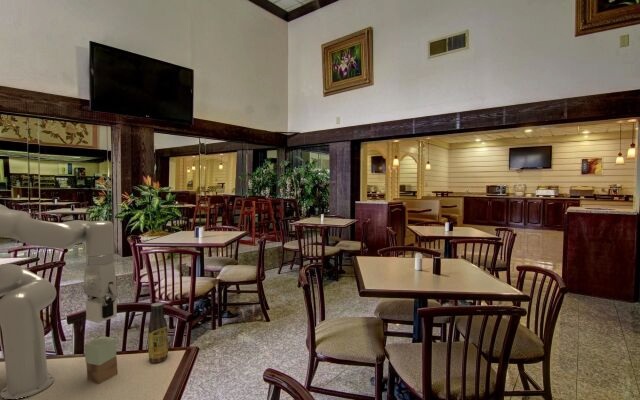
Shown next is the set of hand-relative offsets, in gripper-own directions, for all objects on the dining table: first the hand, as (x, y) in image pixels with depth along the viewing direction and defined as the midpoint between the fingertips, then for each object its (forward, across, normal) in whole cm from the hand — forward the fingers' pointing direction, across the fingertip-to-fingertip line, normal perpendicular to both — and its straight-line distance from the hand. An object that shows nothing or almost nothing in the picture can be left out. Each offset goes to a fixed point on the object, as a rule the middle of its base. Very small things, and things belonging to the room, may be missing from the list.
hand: (101, 314), depth 109 cm
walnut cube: (+21, -1, 0) cm, 21 cm away
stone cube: (+1, 0, 0) cm, 1 cm away
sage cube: (+15, -1, 0) cm, 15 cm away
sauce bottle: (+20, +7, +15) cm, 27 cm away
